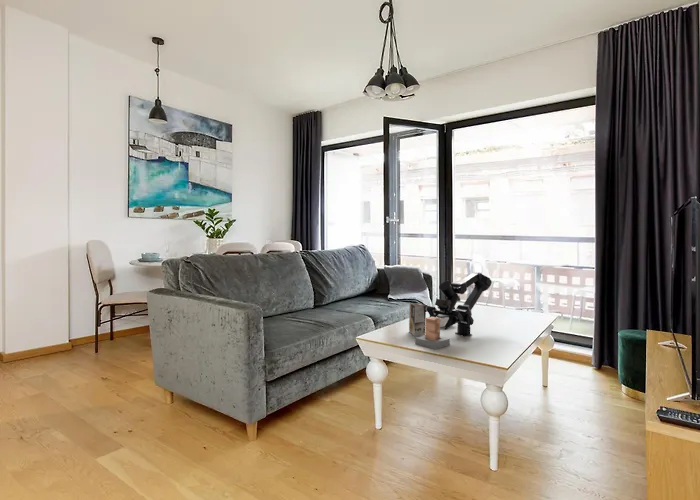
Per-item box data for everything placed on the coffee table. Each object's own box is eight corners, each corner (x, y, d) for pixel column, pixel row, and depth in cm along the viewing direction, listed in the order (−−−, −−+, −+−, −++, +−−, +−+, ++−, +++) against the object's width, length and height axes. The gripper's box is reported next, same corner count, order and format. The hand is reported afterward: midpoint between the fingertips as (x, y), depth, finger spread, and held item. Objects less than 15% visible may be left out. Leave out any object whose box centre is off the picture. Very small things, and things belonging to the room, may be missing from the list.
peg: (431, 342, 200) (431, 316, 199) (439, 344, 196) (440, 318, 195) (425, 344, 197) (425, 318, 196) (433, 346, 193) (434, 319, 192)
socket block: (429, 339, 205) (429, 333, 205) (449, 344, 196) (449, 338, 196) (415, 343, 197) (415, 337, 197) (435, 349, 188) (435, 343, 188)
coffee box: (425, 335, 211) (426, 305, 211) (414, 336, 210) (414, 306, 210) (419, 331, 220) (420, 302, 220) (408, 331, 219) (409, 302, 218)
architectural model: (417, 324, 238) (417, 308, 238) (450, 320, 249) (451, 305, 248) (437, 332, 221) (437, 314, 220) (472, 328, 231) (473, 311, 230)
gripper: (428, 290, 208) (415, 314, 201) (460, 295, 194) (446, 321, 187) (437, 303, 214) (424, 327, 207) (468, 309, 200) (455, 334, 193)
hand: (437, 327), depth 198 cm, fingers open, 9 cm apart
